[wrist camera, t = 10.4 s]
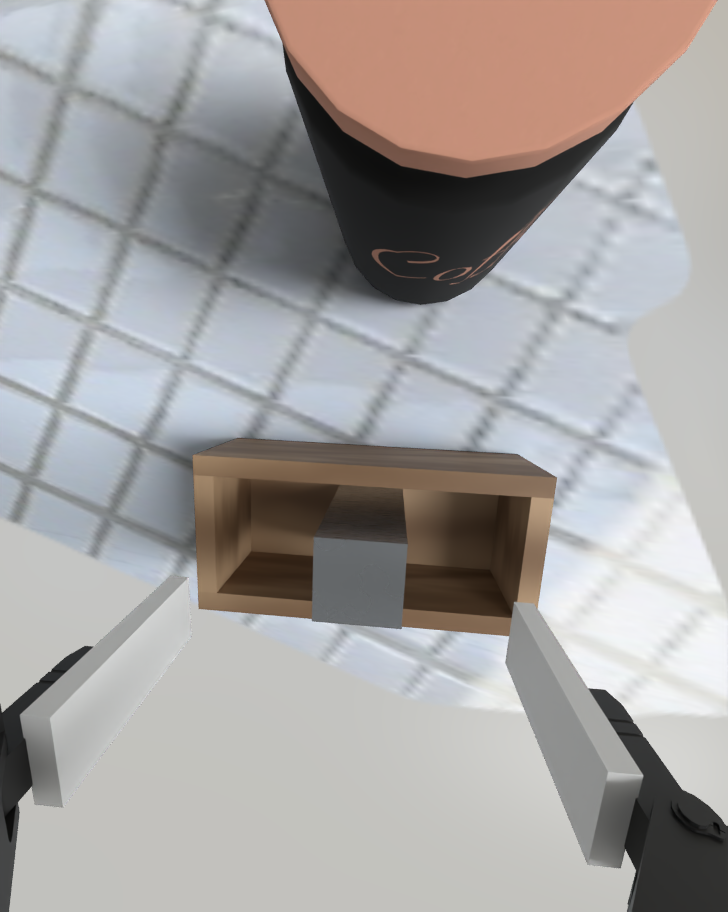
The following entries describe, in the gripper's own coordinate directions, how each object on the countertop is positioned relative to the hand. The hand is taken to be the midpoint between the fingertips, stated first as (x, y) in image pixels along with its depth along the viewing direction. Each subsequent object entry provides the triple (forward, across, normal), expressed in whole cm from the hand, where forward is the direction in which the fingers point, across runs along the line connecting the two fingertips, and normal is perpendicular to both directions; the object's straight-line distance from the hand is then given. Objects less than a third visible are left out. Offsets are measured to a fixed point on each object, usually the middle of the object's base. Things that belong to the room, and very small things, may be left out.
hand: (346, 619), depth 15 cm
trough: (+14, 0, 0) cm, 14 cm away
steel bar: (+13, 0, 0) cm, 13 cm away
